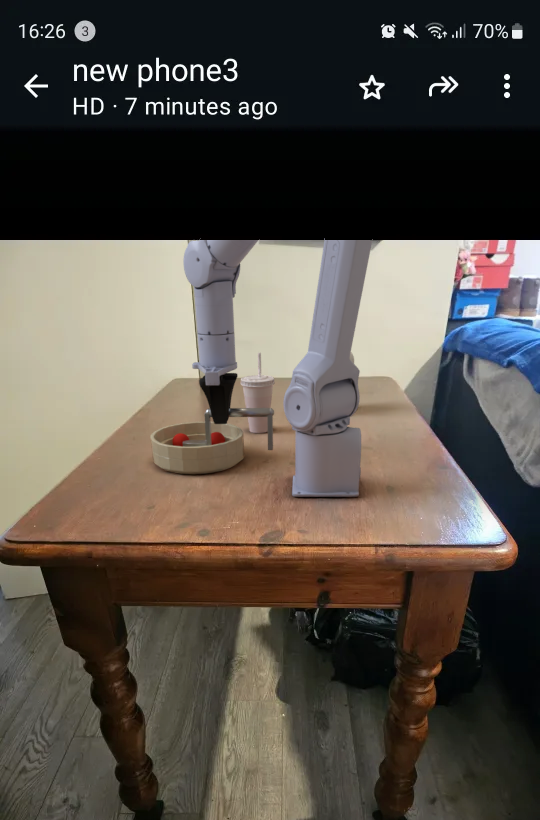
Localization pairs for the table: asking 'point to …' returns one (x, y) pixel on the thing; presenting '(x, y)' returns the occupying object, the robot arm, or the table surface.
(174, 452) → the bowl
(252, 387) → the smoothie
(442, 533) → the table surface
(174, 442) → the tomato
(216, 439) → the tomato
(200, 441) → the bent metal rod stand
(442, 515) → the table surface
